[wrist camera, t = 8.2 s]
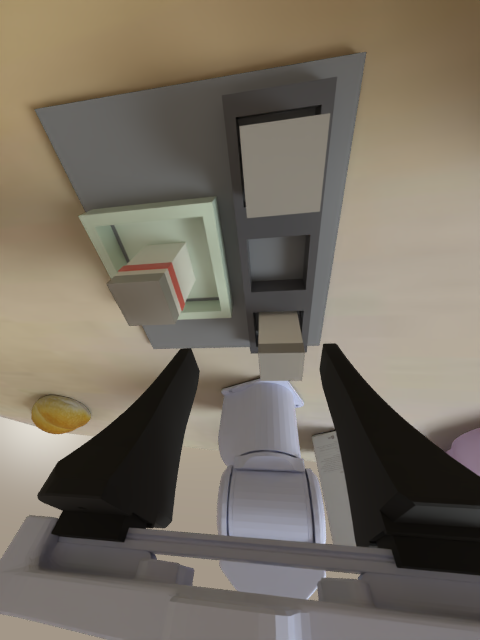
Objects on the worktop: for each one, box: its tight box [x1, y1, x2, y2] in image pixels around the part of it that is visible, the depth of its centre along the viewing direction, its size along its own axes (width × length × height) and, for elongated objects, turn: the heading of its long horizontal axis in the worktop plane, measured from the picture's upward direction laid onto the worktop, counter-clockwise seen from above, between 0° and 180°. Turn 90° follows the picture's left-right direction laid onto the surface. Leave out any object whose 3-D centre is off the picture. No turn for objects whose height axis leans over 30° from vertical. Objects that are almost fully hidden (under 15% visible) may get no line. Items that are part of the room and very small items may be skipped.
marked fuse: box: [107, 242, 196, 326], centre depth 17 cm, size 4×4×6 cm
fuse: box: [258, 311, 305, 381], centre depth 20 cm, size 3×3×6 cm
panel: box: [35, 52, 366, 353], centre depth 19 cm, size 19×21×3 cm
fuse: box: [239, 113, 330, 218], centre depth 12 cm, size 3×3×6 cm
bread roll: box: [31, 395, 91, 434], centre depth 38 cm, size 8×9×4 cm
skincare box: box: [312, 431, 356, 546], centre depth 34 cm, size 8×6×15 cm
